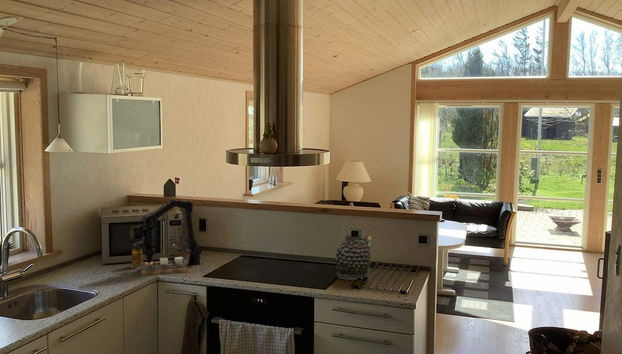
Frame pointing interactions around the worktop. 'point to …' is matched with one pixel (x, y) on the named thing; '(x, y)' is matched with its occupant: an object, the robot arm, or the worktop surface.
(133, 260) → the condiment
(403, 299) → the worktop surface
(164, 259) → the key cream
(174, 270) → the keypad
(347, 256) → the pine cone figurine
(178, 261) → the key sage
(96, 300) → the worktop surface
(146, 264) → the key terracotta
